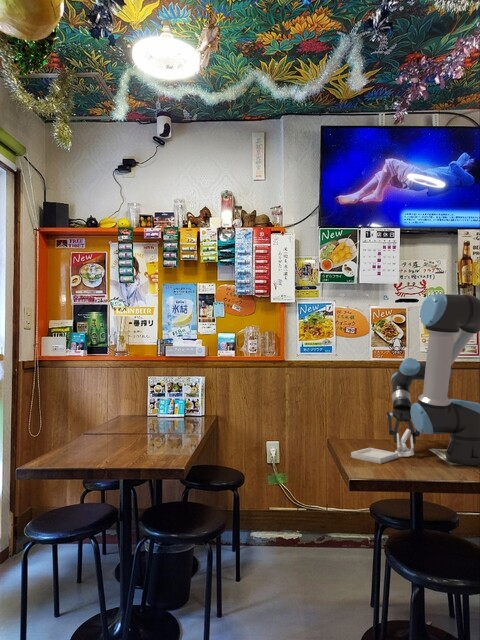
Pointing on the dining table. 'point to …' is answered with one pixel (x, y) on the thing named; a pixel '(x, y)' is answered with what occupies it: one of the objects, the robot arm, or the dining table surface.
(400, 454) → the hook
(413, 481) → the dining table surface
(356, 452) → the tray
